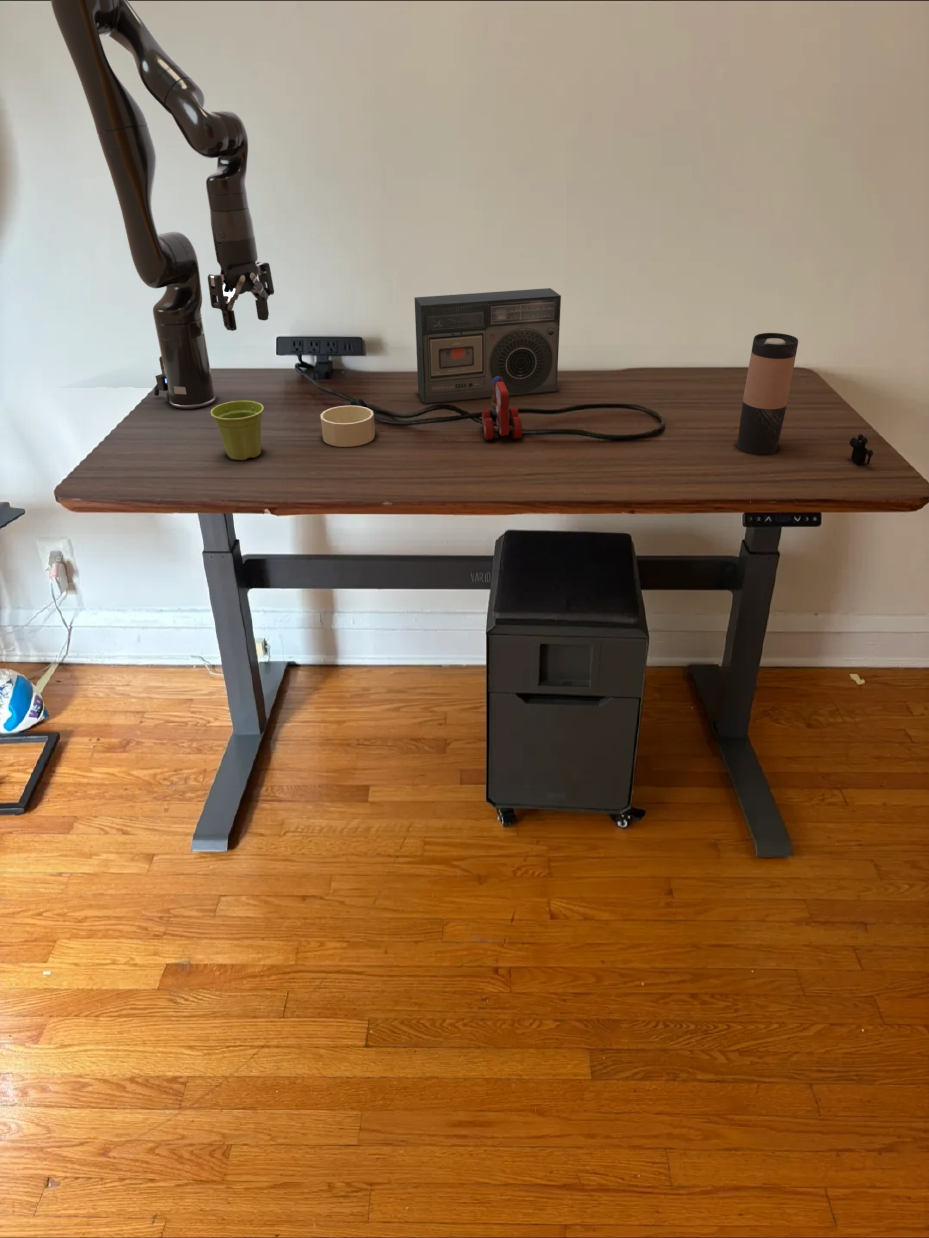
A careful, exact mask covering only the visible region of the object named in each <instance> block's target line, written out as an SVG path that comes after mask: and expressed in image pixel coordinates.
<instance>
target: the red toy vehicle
mask: <svg viewBox="0 0 929 1238" xmlns="http://www.w3.org/2000/svg"><path fill="white" fill-rule="evenodd" d="M493 385H494V387H493V396H492V398H490V403H491V405H492V406H491V407H490V408H486V409H485V408H484V409H482V410H481V425H482V430H483V436H484V439H485V440H486V441H492V440H494V437H495V433H496V432H498V435H500V436H501V437H505V436H506V437H507V436H509V434H510V431H511V437H512V439H514V440H515V439H516V440H518V439H519V440H520V439H521V438H522V434H523V425H522V419H521V417H520V416H519V410H518V408H517V407H509V405H510V396H509V393H508V390H507V388H506V386H505V384H504V382H503V379H502V377H500V376H496V377H495V378H494V379H493ZM494 423H495V425H494Z"/></svg>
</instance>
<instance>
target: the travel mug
mask: <svg viewBox="0 0 929 1238" xmlns="http://www.w3.org/2000/svg"><path fill="white" fill-rule="evenodd" d="M798 346H799V339H798V337H796V336H793V335H791V334H786V333H780V332H763V333H758V334H756V335H754V337H753V340H752V345H751V352H750V357H749V363H748V369H747V375H746V380H745V385H744V392H743V397H742V405H741V413H740V420H739V428H738V435H737V445H736V446H737V448H738V449H739V450H740V451H742V452H745V453H748V454H751V455H770V454H773V453H775V452H777V449H778V446H779V442H780V437H781V432H782V429H783V424H784V419H785V414H786V410H787V407H788V403H789V395H790V391H791V384H792V379H793V374H794V368H795V363H796V357H797V353H798V352H797V351H798Z"/></svg>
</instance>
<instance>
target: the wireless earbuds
mask: <svg viewBox="0 0 929 1238" xmlns="http://www.w3.org/2000/svg"><path fill="white" fill-rule="evenodd" d="M867 444H868V438H867V437H865V436H864V435H863V434H862V433H859V434H857V437H855V436H852V438H851V439H850V440H849V445H850V446H851V447H852V451H851V454H850V455H851V456H850V460H852V461H853V462H854V463H855V464H856V465H859V466H861V465H864V464H865V462H866V465H867V466H870V464H871V463H870V462H871V459H872V456H874V451H873V450H872V449H868V448H866V445H867ZM866 458H867V461H866Z"/></svg>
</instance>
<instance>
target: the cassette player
mask: <svg viewBox="0 0 929 1238" xmlns="http://www.w3.org/2000/svg"><path fill="white" fill-rule="evenodd" d="M561 303H562V295H561V294H559V293H558V292H556V291H555V290H554V289H552V288H550V287H547V288H546V287H545V288H533V289H532V288H531V289H519V290H518V289H517V290H516V289H515V290H502V291H489V292H488V291H487V292H476V293H475V292H474V293H459V294H457V293H456V294H445V295H431V296H417V297H416V296H415V297H414V318H415V319H414V321H415V346H416V347H415V349H416V369H417V370H416V371H417V372H416V373H417V393H418V395H419V397H420V398H421V400H422V402H423V403H424V405H425V404H436V403H448V402H459V401H468V400H470V401H471V400H479V399H491V398H492V396H493V387H494V385H493V379H494V378H495V377H496V376H500V377H502V379H503V382H504V384H505V386H506V388H507V390H508V393H509V397H513V396H523V395H534V394H545V393H546V394H547V393H557V390H558V389H557V388H558V369H559V348H560V330H561V329H560V328H561V327H560V325H561Z"/></svg>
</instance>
